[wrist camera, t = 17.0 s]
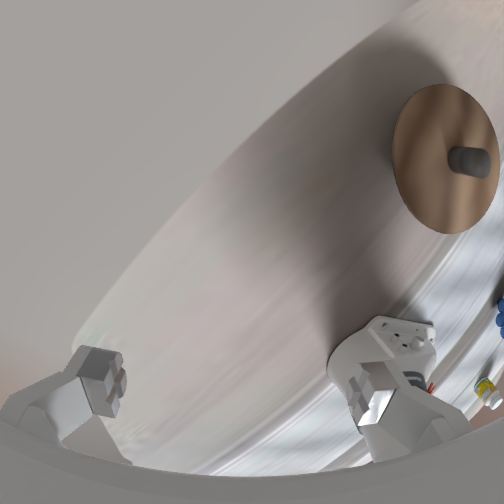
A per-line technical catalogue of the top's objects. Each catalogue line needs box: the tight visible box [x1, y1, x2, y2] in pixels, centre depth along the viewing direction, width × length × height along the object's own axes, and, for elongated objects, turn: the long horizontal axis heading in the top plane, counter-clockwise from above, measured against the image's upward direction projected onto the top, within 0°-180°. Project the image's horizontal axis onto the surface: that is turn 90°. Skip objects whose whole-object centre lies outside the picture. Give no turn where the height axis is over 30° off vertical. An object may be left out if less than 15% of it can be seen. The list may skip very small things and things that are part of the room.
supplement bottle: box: [474, 377, 502, 410], centre depth 53 cm, size 5×5×10 cm
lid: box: [392, 84, 500, 234], centre depth 28 cm, size 20×20×6 cm
